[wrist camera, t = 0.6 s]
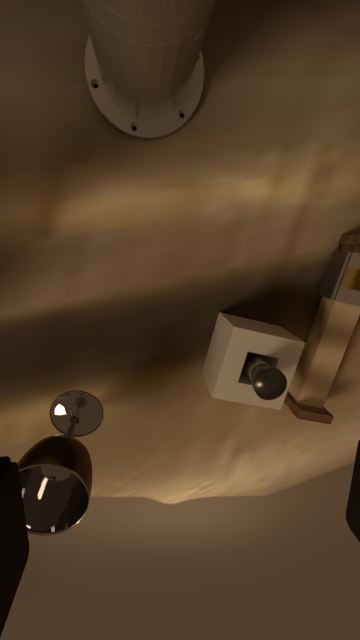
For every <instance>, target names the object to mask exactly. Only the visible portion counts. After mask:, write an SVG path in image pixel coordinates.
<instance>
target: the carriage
mask: <svg viewBox="0 0 360 640" xmlns="http://www.w3.org/2000/svg"><path fill="white" fill-rule="evenodd" d="M318 295H320V296H323V297H326V298H329V299H332V300H335V301H339V302H343V303H347V304H351V305H355V306H359V307H360V254H359V253H355V252H349V251H339V250H334V252H333V254H332V257H331V260H330V263H329V265H328V268H327V271H326V274H325V276H324V279H323V282H322V285H321V287H320V290H319V293H318Z"/></svg>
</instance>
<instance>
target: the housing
mask: <svg viewBox="0 0 360 640" xmlns="http://www.w3.org/2000/svg"><path fill="white" fill-rule="evenodd" d="M304 345H305V342H303V341H302V340H300V339H299V338H297V337H296V336H294V335H293V334H291V333H290V332H288V331H287V330H285V329H284V328H282V327H281V326H277V325H273V324H268V323H264V322H260V321H255V320H251V319H247V318H243V317H238V316H234V315H230V314H225V313H221V312H219V315H218V318H217V322H216V325H215V329H214V332H213V335H212V339H211V342H210V346H209V349H208V352H207V356H206V359H205V363H204V366H203V369H202V375H203V378H204V380H205V382H206V385H207V387H208V389H209V392H210V394H211V396H212V398H217V399H222V400H228V401H233V402H239V403H244V404H250V405H255V406H260V407H266V408H271V409H277V410H281V408H282V405H283V402H284V400H285V397H286V394H287V392H288V389H289V386H290V383H291V381H292V378H293V375H294V372H295V370H296V367H297V364H298V362H299V359H300V356H301V353H302V351H303V348H304ZM247 352H252V353H257V354H259V355H260V356H261V357H262V358H263V359H264V360H265V361H266V362H267V363H268V364H269V365H270V366H272V367H276V368H278V369H279V370H280V371H281V372H282V373H283V374H284V375H285V376H286V379H287V387H286V390H285V391H284V393H283V394H282V395H281V396H280V397H278V398H276V399H274V400H264V399H261V398H260V397H259V396H258V395H257V394H256V393H255V391H254V389H253V387H252V381H251V380H250V378H249V377H248V376H247V374H246V373H245V372H244V370H243V369H242V368H243V365H244V362H245V359H246V356H247Z"/></svg>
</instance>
